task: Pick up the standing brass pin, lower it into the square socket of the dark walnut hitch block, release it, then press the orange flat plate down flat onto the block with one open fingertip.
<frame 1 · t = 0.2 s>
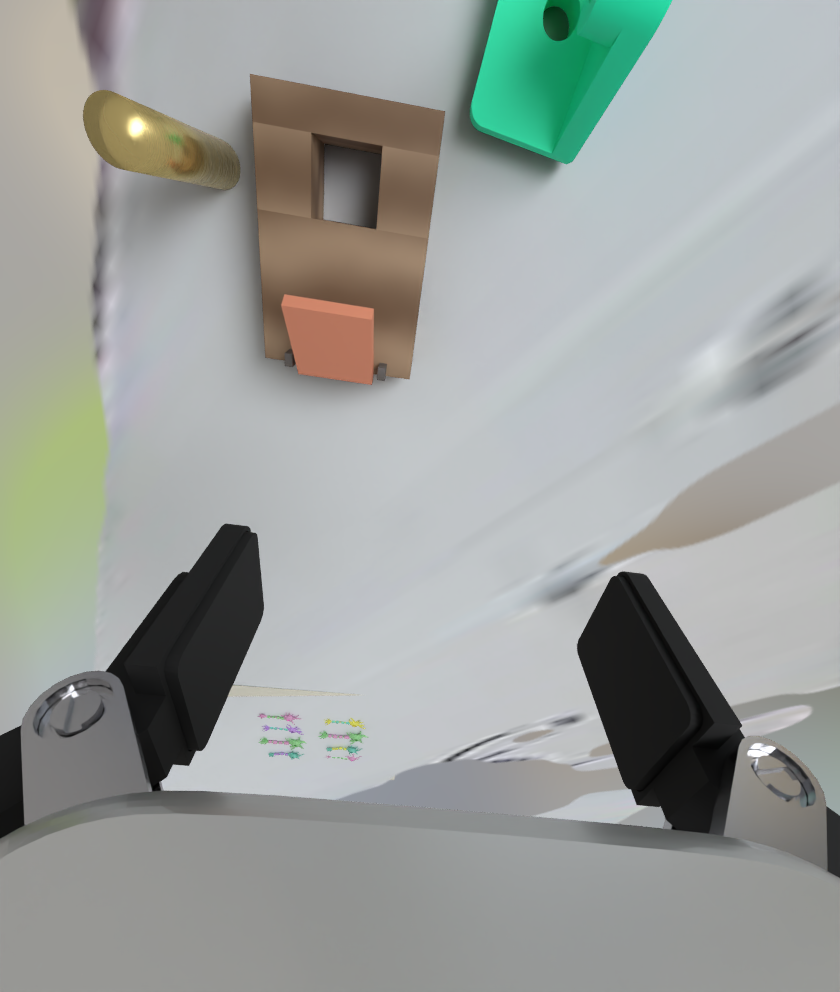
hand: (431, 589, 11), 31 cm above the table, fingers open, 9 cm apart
hitch block: (351, 249, 33), on the table
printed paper: (317, 734, 75), on the table
camera mount: (550, 33, 27), on the table
brass pin: (219, 164, 31), on the table
orange flat plate: (332, 344, 31), point 7 cm above the table, hinge at 35.0°
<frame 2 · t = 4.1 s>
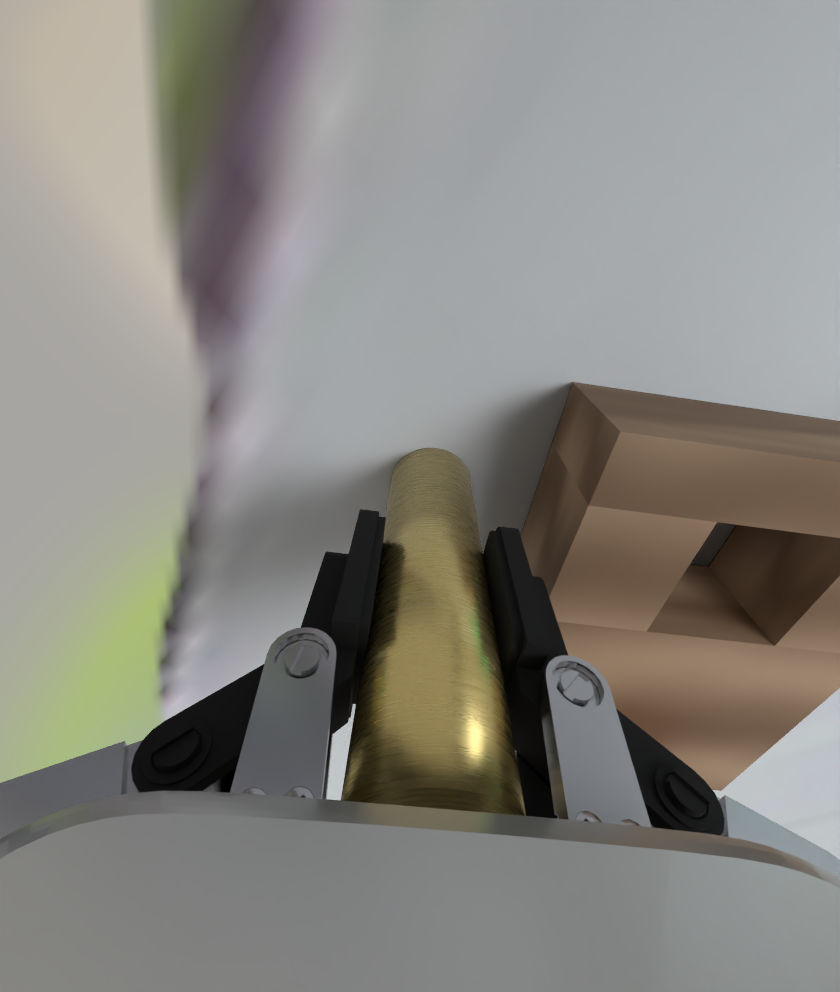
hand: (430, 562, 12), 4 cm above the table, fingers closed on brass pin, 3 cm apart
hitch block: (639, 589, 18), on the table
brass pin: (430, 484, 16), on the table, touching gripper
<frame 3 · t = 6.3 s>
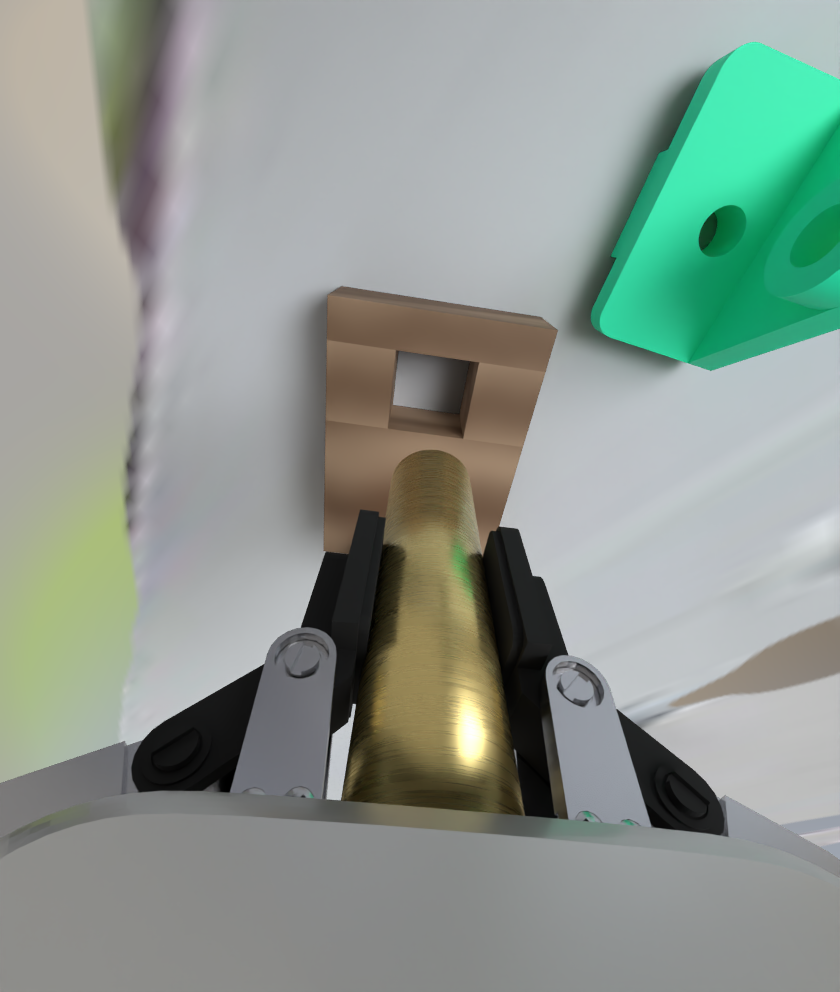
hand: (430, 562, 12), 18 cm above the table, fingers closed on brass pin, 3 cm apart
hitch block: (422, 432, 29), on the table
camera mount: (691, 231, 23), on the table
brass pin: (430, 485, 16), point 14 cm above the table, touching gripper
when the fingers open (5 cm above the table, at t = 8.7 s): brass pin stays where it is, resting in hitch block.
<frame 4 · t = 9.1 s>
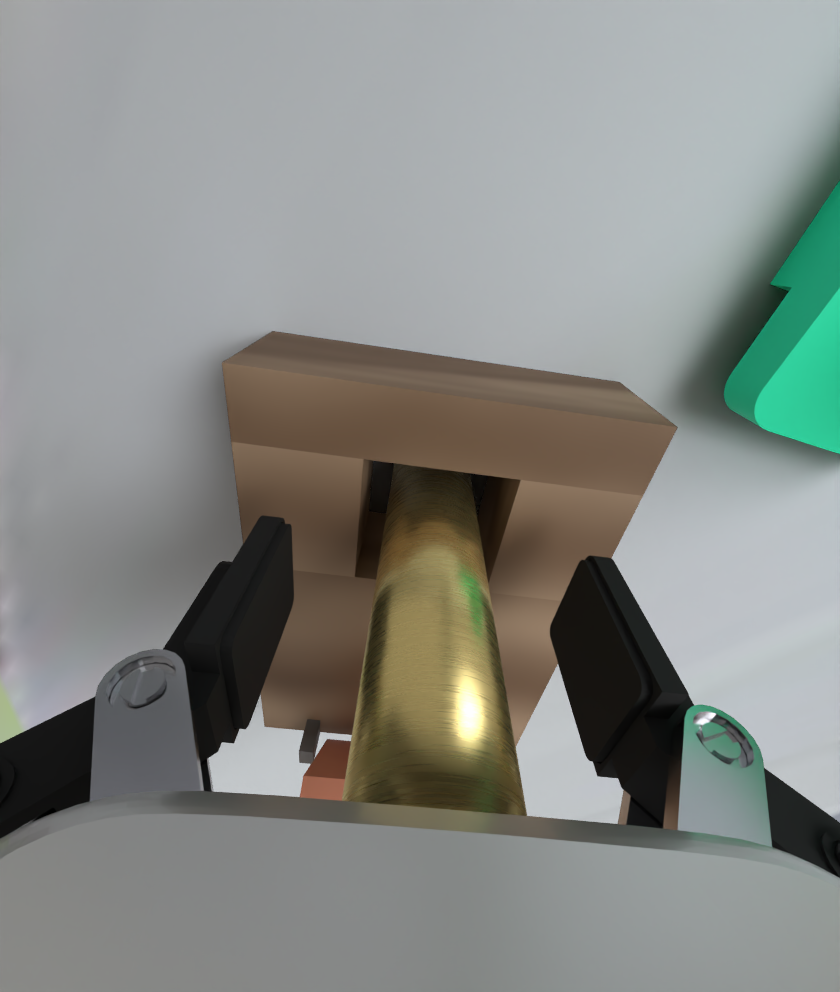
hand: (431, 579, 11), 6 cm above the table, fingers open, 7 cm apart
hitch block: (417, 548, 19), on the table
brass pin: (431, 470, 17), resting in hitch block
orange flat plate: (392, 775, 16), point 7 cm above the table, hinge at 35.0°
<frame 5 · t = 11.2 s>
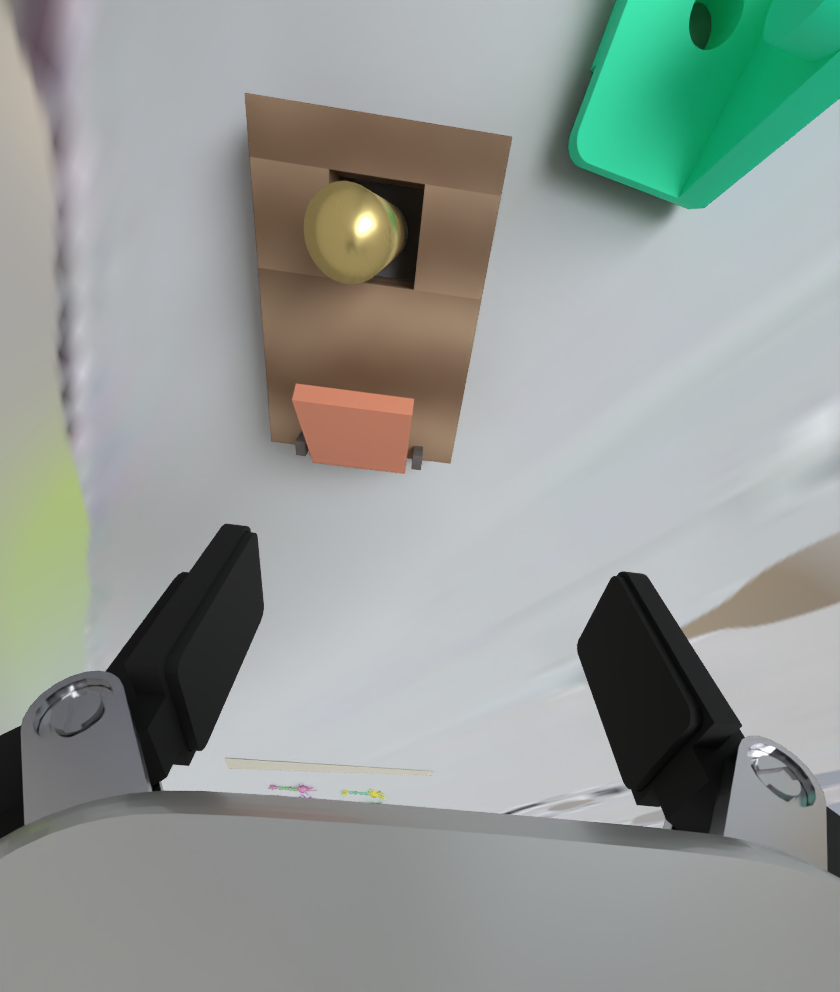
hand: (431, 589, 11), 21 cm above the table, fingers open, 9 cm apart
hitch block: (377, 306, 26), on the table
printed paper: (333, 802, 69), on the table
camera mount: (682, 38, 20), on the table
brass pin: (382, 232, 24), resting in hitch block
orange flat plate: (357, 434, 24), point 7 cm above the table, hinge at 35.0°
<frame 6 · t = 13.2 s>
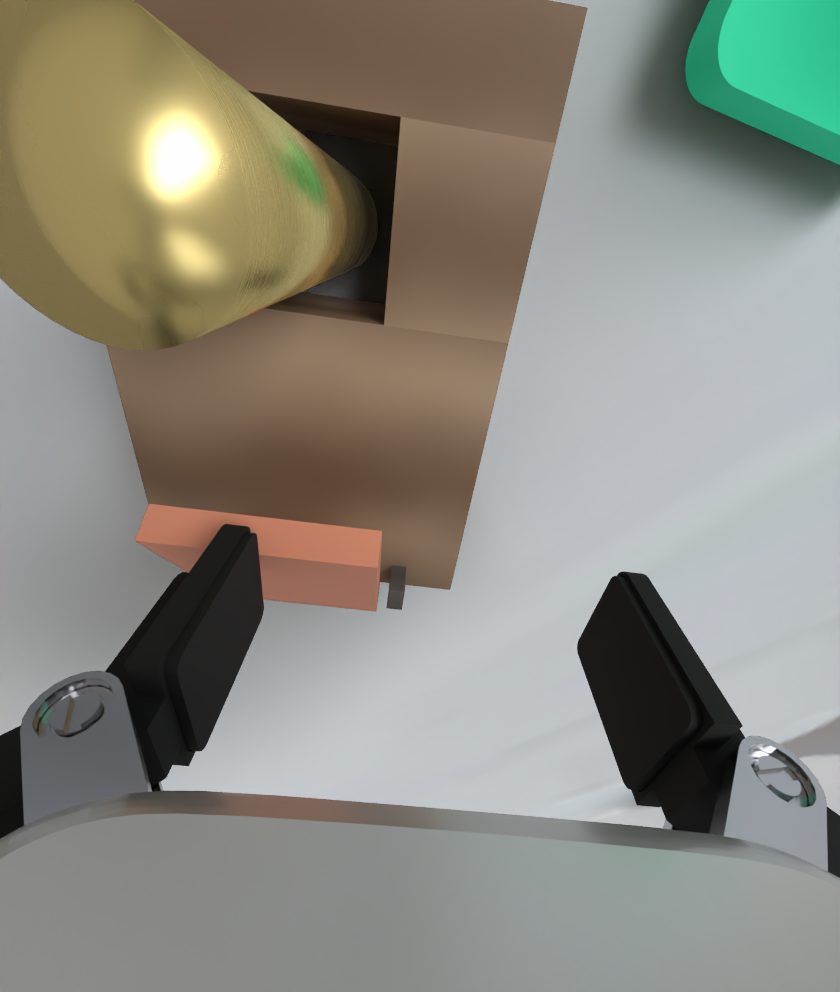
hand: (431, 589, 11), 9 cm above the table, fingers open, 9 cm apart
hitch block: (331, 343, 16), on the table
brass pin: (334, 222, 14), resting in hitch block
orange flat plate: (288, 569, 14), point 7 cm above the table, hinge at 33.0°, touching gripper
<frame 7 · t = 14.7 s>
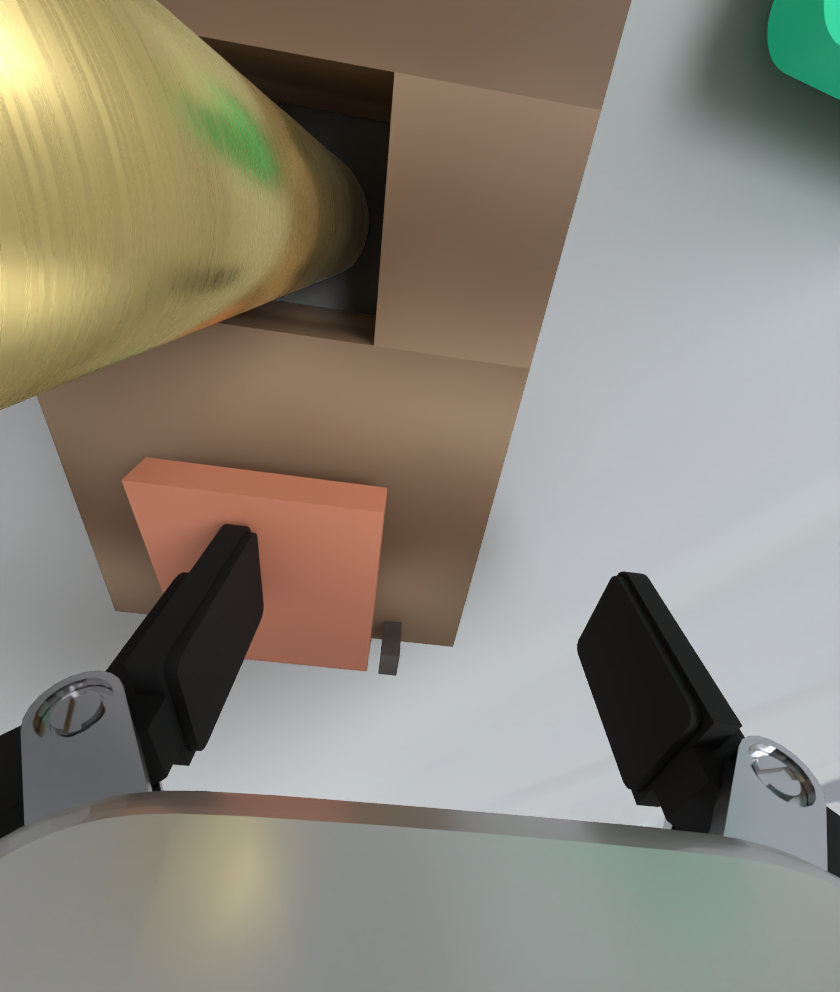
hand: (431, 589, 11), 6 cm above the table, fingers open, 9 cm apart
hitch block: (314, 361, 14), on the table
brass pin: (315, 217, 12), resting in hitch block
orange flat plate: (273, 580, 12), point 5 cm above the table, hinge at 4.9°
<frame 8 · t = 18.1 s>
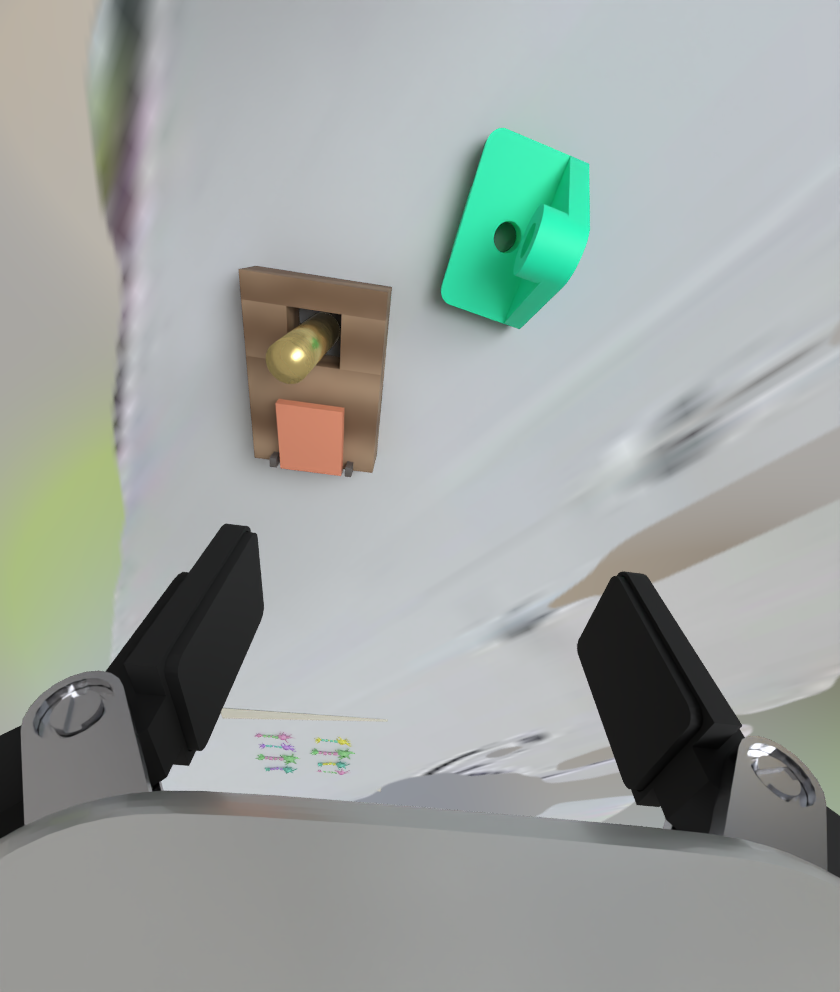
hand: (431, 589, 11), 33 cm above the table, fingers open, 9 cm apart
hitch block: (323, 371, 41), on the table
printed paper: (309, 751, 83), on the table
camera mount: (502, 237, 35), on the table
brass pin: (324, 329, 39), resting in hitch block
orange flat plate: (311, 439, 40), point 5 cm above the table, hinge at 4.6°
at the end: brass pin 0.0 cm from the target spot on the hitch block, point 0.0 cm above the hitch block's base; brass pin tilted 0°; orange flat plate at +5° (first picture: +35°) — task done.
